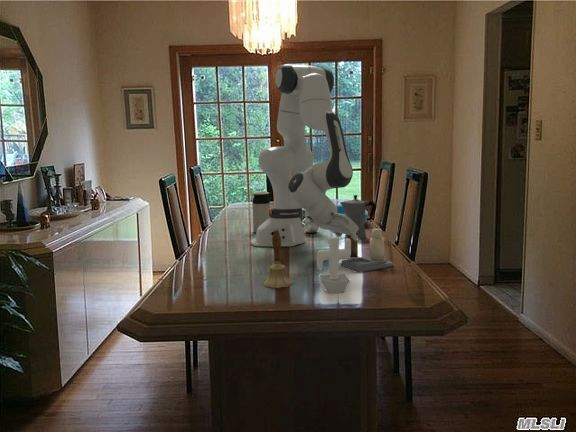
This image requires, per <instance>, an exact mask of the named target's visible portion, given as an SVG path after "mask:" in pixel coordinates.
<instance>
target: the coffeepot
mask: <svg viewBox="0 0 576 432" xmlns="http://www.w3.org/2000/svg"><path fill="white" fill-rule="evenodd" d="M339 205H342V206H343V207H344V209H345V211H346V215H347V216H348V217H349V218H350V219H351V220H352V221H353V222H354V223H355V224H356V225H357V226H358V228H359V229H358V231H357V232H356V235H357V236H358V240H361V239H362V240H364V239H366V238H367V233H366V227H365V226H366V225H365V224H364V222H363V218H364V216H365V210H366V207H368V206H372V207H371V209H370V212H369V217H367V219H366V221H372V220H373V217H374V214H375V212H376V209H377V204H376V203H375V201H374V200H361V199H358V195H356V194H354V195H353V199H349V200H346V201H341V202H340V203H339ZM345 236H347V234H344V237H345Z"/></svg>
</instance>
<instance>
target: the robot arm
mask: <svg viewBox="0 0 576 432" xmlns="http://www.w3.org/2000/svg"><path fill="white" fill-rule="evenodd" d="M274 79H275V87H276V89H277V90H278V92H280V93H281V95H280V101H279V107H278V113H277V122H276V130H277V132H278V134H280V135H281V137H282V138H283V146H282V145H281V146H271V147H267V148H264V149H263V150H262V151H261V152H260V153H259V155H258V166H259V169H260V170H261V171H262V172H263V173H264V174H265V175H266V176H267V178H268V180H269V182H270V185H271V187H272V192H273V194H272V195H273V208H271V207H270V208H269V209H268V213H269V217H270V218H269V219H267V220H266V221H265V222H264V223H262V224H261V225H260V226H259V227H258V229H257V232H255V237H253V238H252V239H251V240H250V244H251V246H254V247H273V245H272V237H273V234H274V230H278V231H279V234H280V237H281V247H293V246H296V245H301V244H305V243H306V242H307V240H306V237H305V233H304V227H303V219H304V211H305V210H306V211H307V212H308V213H307V215H306V217H307V218H308V219H310V220H312V221H313V222H314V223H315V224H316V225H318V226H319V228H320V229H322V230H326V231H330V232H331V233H332V234H334V235H335V237H338V238H340V237H341V236H342V235H345V234H347V235H350V236H351V237H350V238H351V239H352V240H355V241H356V240H357V239H358V236H357V235H356V232H357V231H358V229H359V228H358V226H357V225H356V224H355V223H354V222H353V221H352V220H351V219H350V218H349V217H348V216H346V215H344V214H339V213H337V206H336V204H335V203H334V202H333V201H332V200H331V198H329V197H328V195H326V192H327V191H330V190H333V189H339V188H346V187H347V186H349V185H350V183H351V181H352V178H353V175H354V171H353V167H352V164H351V161H350V158H349V155H348V151H347V146H346V140H345V136H344V132H343V127H342V123H341V120H340V118H339V116H338V114H336V113H334V111H333V107H332V100H331V98H332V97H331V93H332V91H333V89H334V84H335V78H334V74H333V72H332V71H331V70H330V69H327V68H326V67H319V66H314V65H308V64H306V65H305V64H291V63H286V64H281V65H280V66H279V67H278V68H277V69H276V74H275V78H274ZM306 127H307V128H308V129H311V130H315V131H319V132H324V134H325V136H326V139H327V146H328V151H329V158H328V159H327V160H325V161H321V162H318V163H314V154H313V152H312V151H311V149H310V148H309V146H308V144H307V140H306ZM313 163H314V164H313ZM292 174H294V175H293V176H292ZM303 210H304V211H303ZM358 240H359V239H358Z"/></svg>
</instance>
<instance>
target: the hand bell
mask: <svg viewBox="0 0 576 432" xmlns="http://www.w3.org/2000/svg"><path fill="white" fill-rule="evenodd" d="M272 245H273V246H272V249H273V253H274V263H273V264H272V265H270V266H269V271H268V272H269V273H268V276H267V279H266V280H264V282H263V286H264V287H266V288H269V287H271V288H270V289H280V288H279V287H285V288H288V286H289V287H291V286H292V285H293V283H292V280H290V278H289V277H288V274H287V270H286V266H285V265H283V264H282V263H281V248H282V246H281V237H280V234H279V231H278V230H274V234H273V237H272ZM290 285H291V286H290Z"/></svg>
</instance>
